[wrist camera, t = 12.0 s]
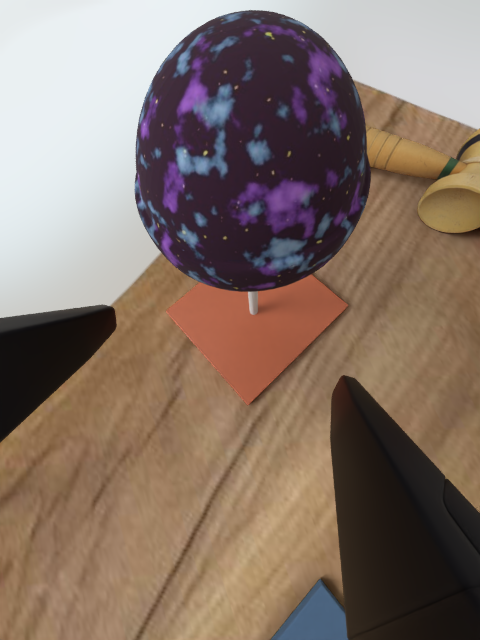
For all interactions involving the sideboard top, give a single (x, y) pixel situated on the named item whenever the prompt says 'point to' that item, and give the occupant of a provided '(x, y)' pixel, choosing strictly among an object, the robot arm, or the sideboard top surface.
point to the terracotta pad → (255, 329)
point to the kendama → (453, 178)
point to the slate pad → (315, 618)
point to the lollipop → (251, 154)
